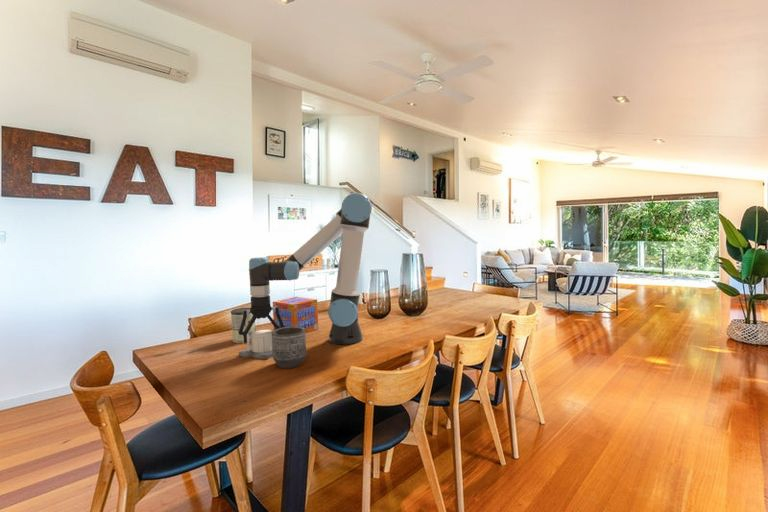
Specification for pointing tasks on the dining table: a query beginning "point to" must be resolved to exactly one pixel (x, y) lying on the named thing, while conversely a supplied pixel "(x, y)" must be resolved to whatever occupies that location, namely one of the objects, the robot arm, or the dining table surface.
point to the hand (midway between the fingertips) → (262, 348)
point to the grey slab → (256, 354)
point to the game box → (297, 313)
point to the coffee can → (236, 322)
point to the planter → (289, 346)
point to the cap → (261, 341)
